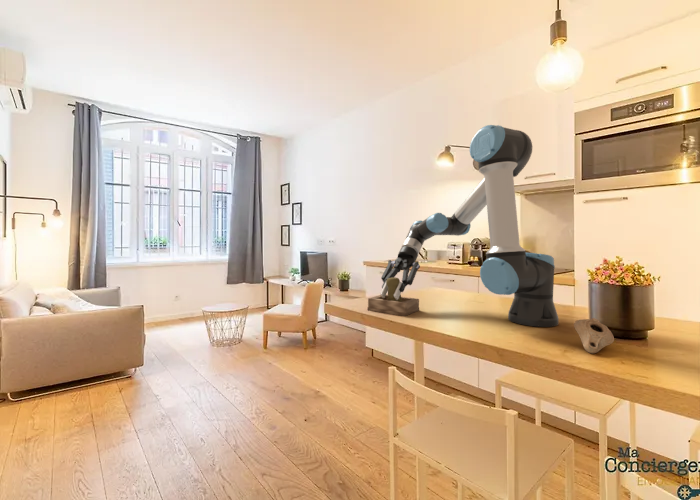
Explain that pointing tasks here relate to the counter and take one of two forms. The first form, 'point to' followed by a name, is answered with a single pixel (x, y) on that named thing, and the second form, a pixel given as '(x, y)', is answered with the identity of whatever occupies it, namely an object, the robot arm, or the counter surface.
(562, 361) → the counter surface
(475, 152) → the robot arm
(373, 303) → the brown tray
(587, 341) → the pottery oil lamp
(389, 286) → the cork
